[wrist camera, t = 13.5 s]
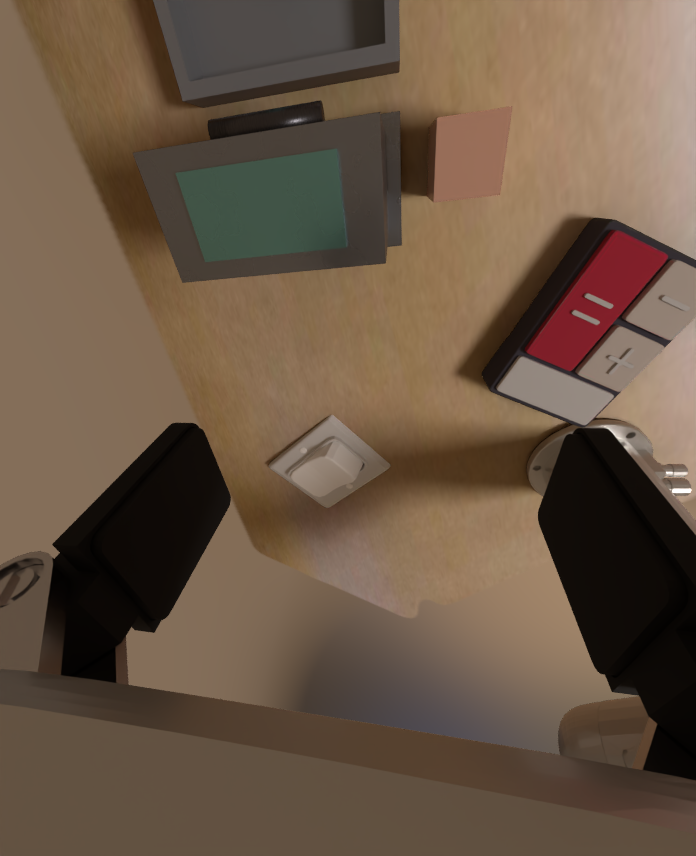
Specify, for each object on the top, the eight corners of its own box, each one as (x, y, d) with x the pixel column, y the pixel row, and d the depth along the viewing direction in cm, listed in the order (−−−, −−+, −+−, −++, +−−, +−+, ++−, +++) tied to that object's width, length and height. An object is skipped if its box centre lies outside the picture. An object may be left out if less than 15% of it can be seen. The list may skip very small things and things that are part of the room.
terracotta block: (488, 118, 23) (512, 106, 18) (480, 190, 25) (500, 194, 21) (428, 127, 24) (437, 117, 19) (426, 196, 26) (433, 202, 21)
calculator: (743, 281, 24) (588, 434, 33) (698, 270, 28) (568, 410, 36) (617, 217, 23) (489, 394, 31) (587, 214, 26) (478, 374, 35)
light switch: (393, 480, 42) (323, 524, 47) (392, 458, 45) (326, 501, 51) (329, 426, 37) (261, 481, 43) (333, 407, 41) (269, 460, 47)
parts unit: (399, 111, 23) (403, 69, 13) (401, 242, 28) (404, 282, 18) (212, 141, 25) (97, 125, 16) (244, 259, 30) (171, 302, 20)
